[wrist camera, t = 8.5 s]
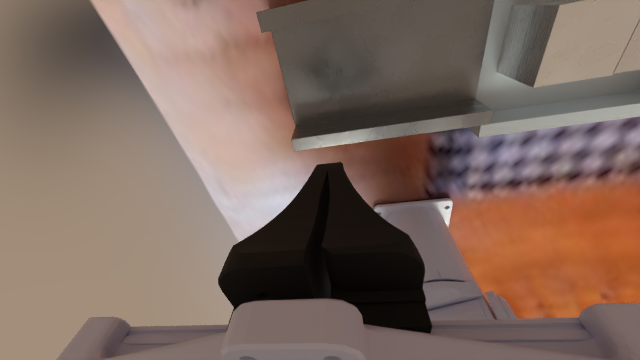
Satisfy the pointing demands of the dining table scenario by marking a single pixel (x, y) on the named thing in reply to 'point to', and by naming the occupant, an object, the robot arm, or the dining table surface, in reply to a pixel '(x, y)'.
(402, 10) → the rail
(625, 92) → the tray
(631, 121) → the dining table surface
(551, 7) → the cream cube
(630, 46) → the beige cube
